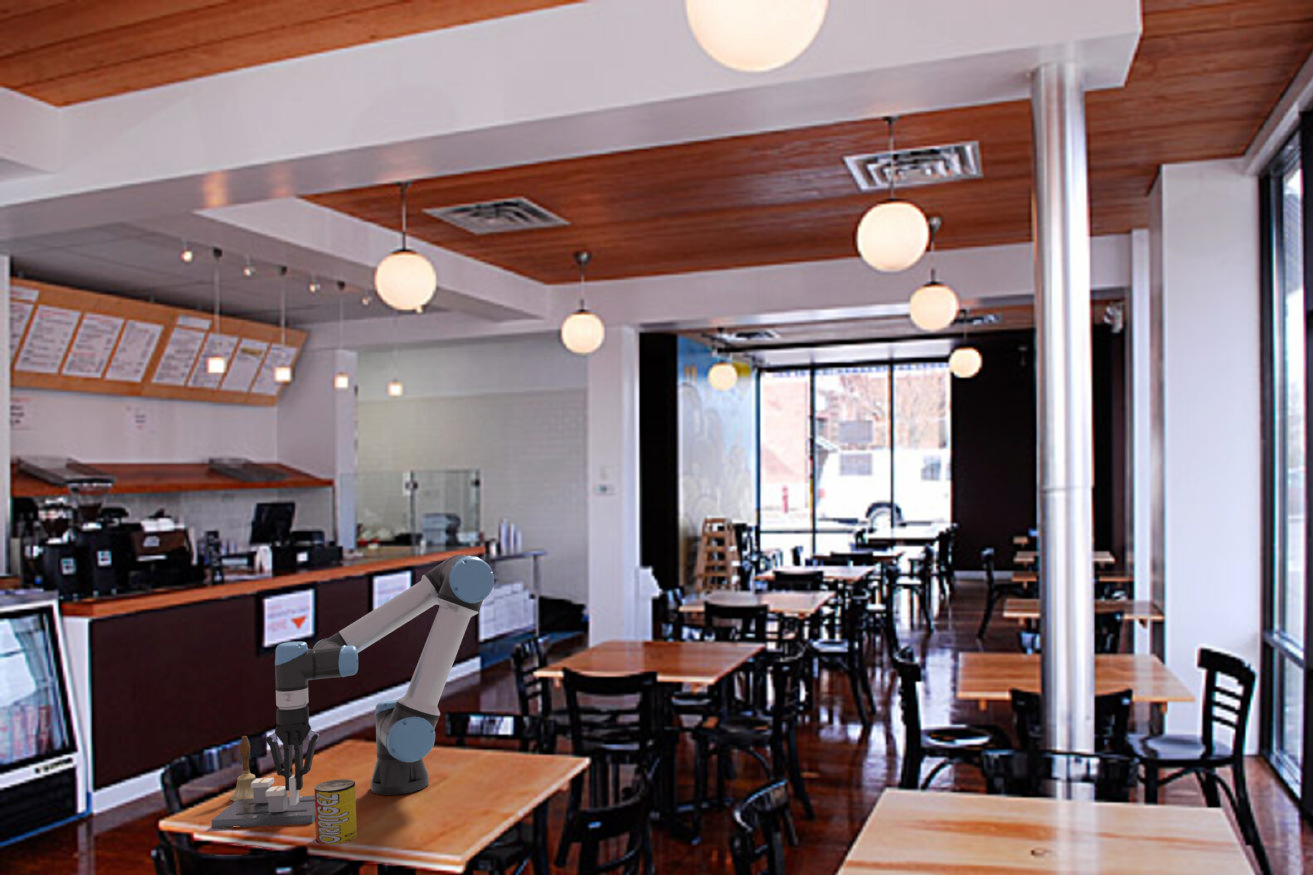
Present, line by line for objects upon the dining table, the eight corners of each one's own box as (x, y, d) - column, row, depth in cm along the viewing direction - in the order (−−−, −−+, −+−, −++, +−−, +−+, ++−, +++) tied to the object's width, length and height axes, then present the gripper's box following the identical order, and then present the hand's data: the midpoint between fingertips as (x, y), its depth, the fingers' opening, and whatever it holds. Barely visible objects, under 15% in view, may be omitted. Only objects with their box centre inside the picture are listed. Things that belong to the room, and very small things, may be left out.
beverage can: (315, 834, 236) (313, 782, 237) (355, 828, 240) (353, 777, 240) (316, 847, 228) (315, 793, 228) (358, 840, 231) (356, 787, 232)
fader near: (290, 806, 250) (289, 784, 251) (284, 812, 246) (283, 789, 247) (272, 807, 250) (271, 785, 251) (266, 813, 246) (265, 790, 247)
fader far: (274, 798, 258) (274, 776, 258) (269, 803, 254) (268, 781, 254) (257, 799, 258) (256, 777, 258) (251, 804, 254) (250, 782, 254)
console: (331, 802, 260) (331, 794, 261) (312, 823, 244) (311, 814, 245) (237, 807, 260) (237, 798, 260) (211, 828, 244) (211, 819, 244)
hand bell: (251, 802, 264) (250, 740, 265) (223, 801, 266) (221, 739, 266) (270, 792, 272) (268, 732, 273) (242, 791, 274) (240, 732, 274)
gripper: (260, 710, 246) (262, 809, 244) (314, 708, 246) (316, 806, 245) (271, 704, 253) (272, 799, 252) (323, 701, 253) (325, 797, 252)
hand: (294, 803), depth 248 cm, fingers closed
